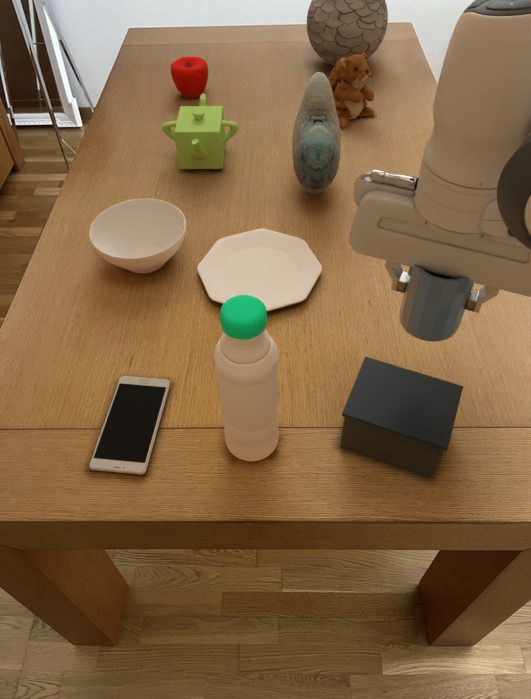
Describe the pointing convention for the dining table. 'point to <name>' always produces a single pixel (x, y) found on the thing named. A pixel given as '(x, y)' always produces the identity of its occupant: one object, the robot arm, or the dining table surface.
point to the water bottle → (247, 379)
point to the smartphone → (130, 425)
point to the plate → (260, 268)
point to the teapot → (200, 135)
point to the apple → (190, 76)
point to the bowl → (138, 234)
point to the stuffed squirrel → (351, 88)
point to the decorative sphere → (346, 27)
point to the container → (400, 416)
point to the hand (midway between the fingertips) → (435, 297)
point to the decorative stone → (316, 136)
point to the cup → (433, 304)
